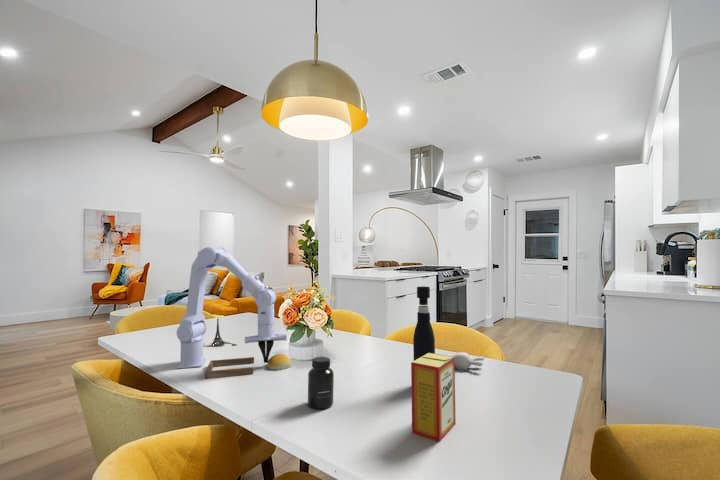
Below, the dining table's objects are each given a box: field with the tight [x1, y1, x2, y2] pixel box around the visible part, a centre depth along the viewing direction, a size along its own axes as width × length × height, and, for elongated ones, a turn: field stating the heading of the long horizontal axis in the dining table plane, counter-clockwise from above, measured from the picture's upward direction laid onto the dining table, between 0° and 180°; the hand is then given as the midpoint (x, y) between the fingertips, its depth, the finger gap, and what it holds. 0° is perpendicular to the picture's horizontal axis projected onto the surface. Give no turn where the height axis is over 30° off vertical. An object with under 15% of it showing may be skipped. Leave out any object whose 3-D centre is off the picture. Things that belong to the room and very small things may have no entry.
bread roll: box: [267, 353, 292, 371], centre depth 124 cm, size 8×9×4 cm
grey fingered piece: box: [444, 351, 485, 371], centre depth 121 cm, size 10×5×15 cm
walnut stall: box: [204, 356, 255, 380], centre depth 121 cm, size 13×15×2 cm
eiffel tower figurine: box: [209, 318, 238, 348], centre depth 154 cm, size 15×10×13 cm
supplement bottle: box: [307, 356, 335, 410], centre depth 93 cm, size 7×7×12 cm
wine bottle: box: [412, 285, 436, 361], centre depth 105 cm, size 6×6×30 cm
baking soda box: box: [410, 353, 457, 443], centre depth 80 cm, size 10×6×16 cm
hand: (265, 361), depth 124 cm, fingers closed
